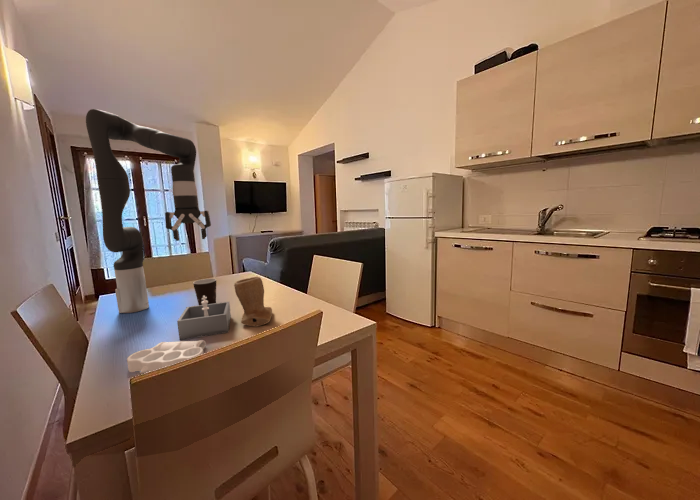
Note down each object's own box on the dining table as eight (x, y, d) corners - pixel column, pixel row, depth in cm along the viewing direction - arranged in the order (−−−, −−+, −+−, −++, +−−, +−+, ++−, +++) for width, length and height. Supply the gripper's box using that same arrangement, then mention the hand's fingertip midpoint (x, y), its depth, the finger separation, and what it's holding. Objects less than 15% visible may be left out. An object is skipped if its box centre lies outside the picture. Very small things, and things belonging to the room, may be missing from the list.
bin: (179, 340, 88) (177, 321, 87) (188, 323, 101) (186, 306, 100) (227, 332, 92) (226, 314, 92) (230, 317, 105) (229, 301, 104)
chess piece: (218, 322, 98) (215, 294, 96) (206, 328, 93) (202, 298, 92) (208, 321, 100) (204, 292, 98) (195, 326, 95) (191, 297, 94)
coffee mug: (212, 308, 116) (210, 283, 115) (191, 308, 117) (188, 284, 115) (225, 298, 128) (223, 276, 126) (206, 299, 128) (203, 277, 127)
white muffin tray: (217, 347, 84) (191, 377, 69) (153, 350, 83) (114, 381, 69) (216, 336, 83) (190, 364, 69) (152, 339, 83) (112, 367, 68)
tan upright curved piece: (241, 313, 109) (237, 274, 106) (274, 310, 111) (270, 272, 108) (232, 330, 94) (227, 285, 92) (270, 326, 96) (266, 282, 94)
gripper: (208, 194, 110) (213, 237, 113) (165, 195, 106) (171, 240, 108) (205, 193, 103) (210, 239, 106) (159, 194, 99) (165, 242, 101)
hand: (190, 239), depth 107 cm, fingers open, 8 cm apart
